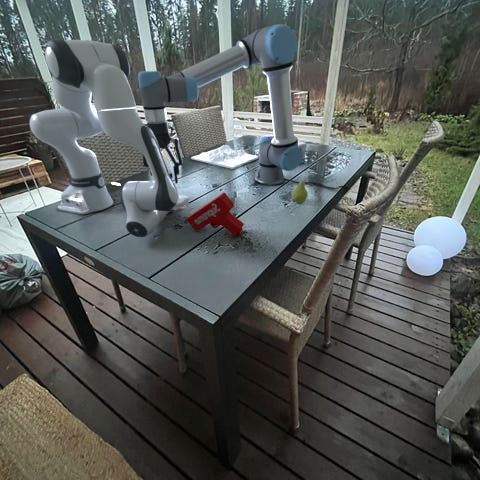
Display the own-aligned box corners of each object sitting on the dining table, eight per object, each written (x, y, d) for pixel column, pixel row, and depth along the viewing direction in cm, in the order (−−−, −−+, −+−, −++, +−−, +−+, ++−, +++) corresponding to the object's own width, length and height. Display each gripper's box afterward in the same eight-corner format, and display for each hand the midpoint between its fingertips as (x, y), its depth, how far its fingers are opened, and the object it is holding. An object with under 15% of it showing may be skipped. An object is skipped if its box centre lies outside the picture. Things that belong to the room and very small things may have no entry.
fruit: (288, 200, 123) (290, 174, 116) (302, 197, 125) (305, 172, 119) (296, 206, 118) (299, 179, 111) (310, 203, 120) (314, 177, 114)
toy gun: (250, 225, 97) (225, 191, 93) (246, 231, 93) (220, 196, 89) (215, 244, 107) (191, 214, 103) (210, 250, 103) (185, 219, 99)
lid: (164, 181, 105) (163, 175, 104) (156, 178, 108) (155, 172, 107) (175, 177, 108) (174, 172, 107) (167, 174, 111) (166, 169, 110)
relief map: (233, 169, 161) (232, 160, 158) (191, 159, 178) (190, 151, 176) (258, 158, 179) (258, 150, 176) (218, 150, 197) (217, 142, 194)
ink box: (298, 160, 174) (300, 141, 168) (304, 162, 171) (307, 142, 165) (290, 163, 169) (292, 143, 163) (296, 165, 166) (299, 145, 160)
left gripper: (181, 202, 98) (192, 188, 110) (128, 199, 101) (145, 186, 113) (183, 218, 102) (194, 202, 113) (132, 214, 105) (148, 200, 116)
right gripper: (185, 119, 101) (192, 178, 113) (129, 120, 99) (142, 180, 112) (184, 122, 95) (191, 184, 107) (125, 124, 93) (139, 187, 105)
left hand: (169, 194), depth 113 cm, fingers closed on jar, 4 cm apart
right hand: (166, 182), depth 109 cm, fingers open, 7 cm apart
